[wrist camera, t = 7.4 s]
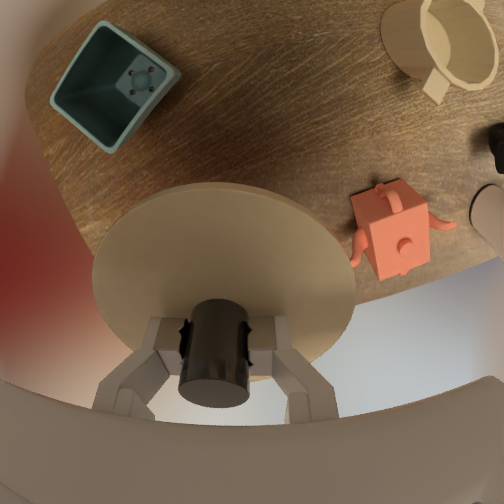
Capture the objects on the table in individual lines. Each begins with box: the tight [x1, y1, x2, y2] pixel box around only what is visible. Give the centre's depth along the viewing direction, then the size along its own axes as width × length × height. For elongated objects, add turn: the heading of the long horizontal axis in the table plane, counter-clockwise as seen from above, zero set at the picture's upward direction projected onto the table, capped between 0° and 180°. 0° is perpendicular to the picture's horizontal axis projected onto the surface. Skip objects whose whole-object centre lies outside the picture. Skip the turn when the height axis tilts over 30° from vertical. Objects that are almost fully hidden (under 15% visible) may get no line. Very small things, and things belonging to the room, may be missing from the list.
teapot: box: [349, 179, 457, 281], centre depth 30 cm, size 12×15×8 cm
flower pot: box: [50, 20, 181, 154], centre depth 20 cm, size 9×9×9 cm
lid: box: [92, 182, 356, 408], centre depth 10 cm, size 11×11×5 cm
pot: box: [380, 0, 499, 105], centre depth 17 cm, size 10×16×8 cm, turn 156°
